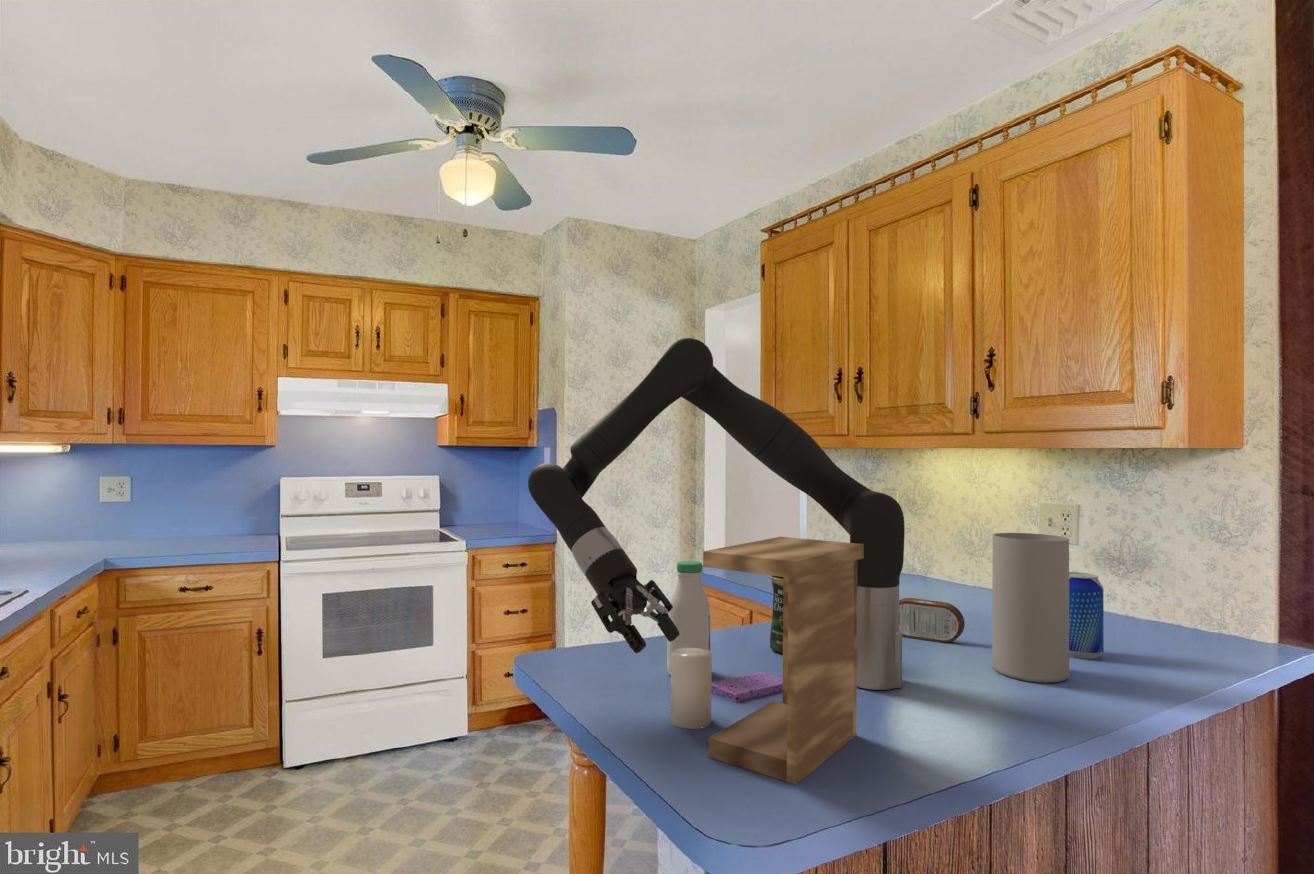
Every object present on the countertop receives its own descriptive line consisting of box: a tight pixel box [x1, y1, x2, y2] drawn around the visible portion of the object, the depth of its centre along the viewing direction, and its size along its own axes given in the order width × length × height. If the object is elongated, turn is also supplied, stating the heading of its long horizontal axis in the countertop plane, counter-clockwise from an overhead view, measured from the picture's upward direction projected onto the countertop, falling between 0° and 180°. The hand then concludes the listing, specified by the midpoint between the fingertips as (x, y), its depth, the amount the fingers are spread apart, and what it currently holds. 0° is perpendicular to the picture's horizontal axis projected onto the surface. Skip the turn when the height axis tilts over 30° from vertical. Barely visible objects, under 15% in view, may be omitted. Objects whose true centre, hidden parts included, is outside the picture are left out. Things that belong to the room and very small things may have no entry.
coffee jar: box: [769, 575, 783, 655], centre depth 144 cm, size 10×8×19 cm
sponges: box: [711, 671, 783, 703], centre depth 121 cm, size 7×13×2 cm, turn 125°
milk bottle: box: [666, 560, 711, 676], centre depth 130 cm, size 8×8×20 cm
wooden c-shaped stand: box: [702, 536, 864, 785], centre depth 98 cm, size 13×22×27 cm, turn 143°
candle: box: [670, 648, 713, 730], centre depth 107 cm, size 6×6×10 cm
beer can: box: [1069, 571, 1105, 660], centre depth 145 cm, size 8×8×16 cm
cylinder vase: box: [991, 532, 1070, 684], centre depth 132 cm, size 12×12×25 cm
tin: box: [899, 597, 965, 644], centre depth 155 cm, size 15×3×8 cm, turn 58°
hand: (659, 643), depth 111 cm, fingers open, 8 cm apart
